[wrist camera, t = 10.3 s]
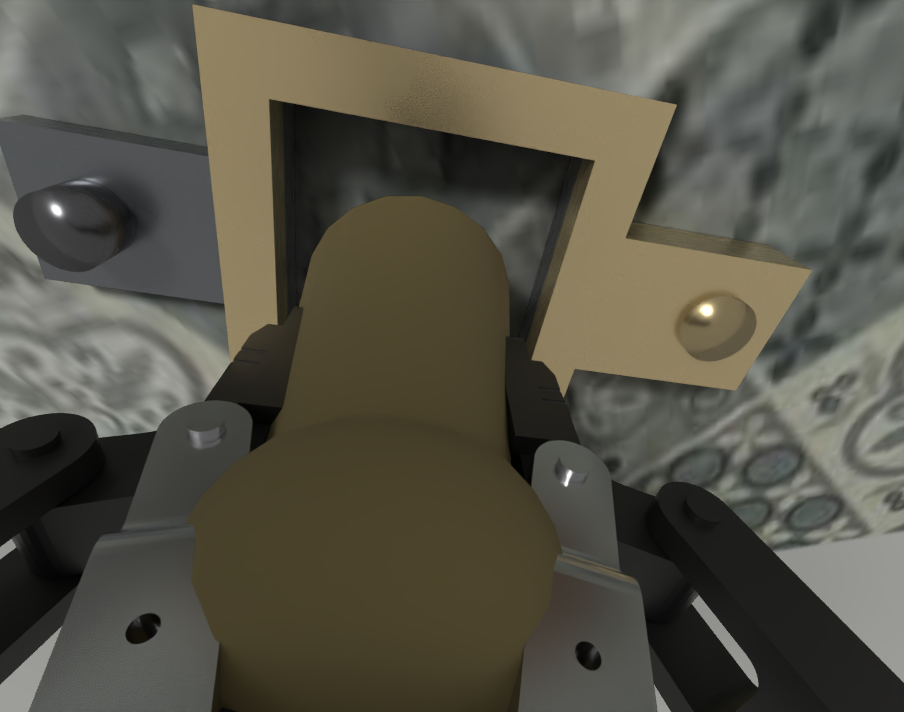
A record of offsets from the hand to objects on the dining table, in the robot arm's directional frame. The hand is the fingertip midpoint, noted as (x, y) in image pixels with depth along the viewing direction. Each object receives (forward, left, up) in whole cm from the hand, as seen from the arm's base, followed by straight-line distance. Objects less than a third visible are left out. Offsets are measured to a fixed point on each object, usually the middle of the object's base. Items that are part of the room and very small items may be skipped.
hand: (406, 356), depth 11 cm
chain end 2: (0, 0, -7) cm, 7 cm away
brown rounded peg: (0, 0, -4) cm, 4 cm away
